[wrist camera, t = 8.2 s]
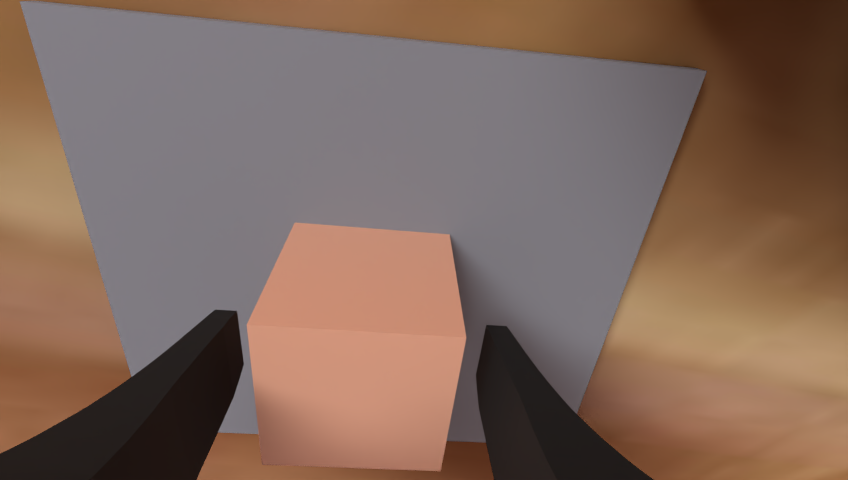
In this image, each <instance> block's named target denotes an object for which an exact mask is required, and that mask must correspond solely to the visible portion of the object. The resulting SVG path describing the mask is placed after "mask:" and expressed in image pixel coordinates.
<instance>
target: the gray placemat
mask: <svg viewBox="0 0 848 480" xmlns="http://www.w3.org/2000/svg"><path fill="white" fill-rule="evenodd" d="M20 4H21V7H22V10H23V14H24V17H25V20H26V24H27V27H28V31H29V34H30V37H31V41H32V44H33V47H34V51H35V54H36V57H37V61H38V64H39V67H40V71H41V74H42V78H43V81H44V84H45V88H46V91H47V94H48V98H49V101H50V104H51V108H52V111H53V115H54V118H55V121H56V125H57V128H58V131H59V135H60V138H61V141H62V145H63V148H64V152H65V155H66V158H67V162H68V165H69V168H70V172H71V175H72V178H73V182H74V185H75V188H76V192H77V195H78V199H79V202H80V205H81V209H82V212H83V215H84V219H85V222H86V225H87V229H88V232H89V236H90V239H91V242H92V246H93V249H94V252H95V256H96V259H97V262H98V266H99V269H100V273H101V276H102V279H103V283H104V286H105V289H106V293H107V296H108V299H109V303H110V306H111V309H112V313H113V316H114V320H115V323H116V326H117V330H118V333H119V336H120V340H121V343H122V346H123V350H124V353H125V357H126V360H127V363H128V367H129V370H130V373H131V377H132V376H134V375H135V374H136V373H138V372H139V371H140V370H142V369H143V368H144V367H146V366H147V365H148V364H150V363H151V362H152V361H154V360H155V359H156V358H157V357H159V356H160V355H161V354H162V353H164V352H165V351H166V350H167V349H168V348H170V347H171V346H172V345H173V344H175V343H176V342H177V341H178V340H179V339H181V338H182V337H183V336H184V335H185V334H187V333H188V332H189V331H190V330H191V329H192V328H194V327H195V326H196V325H197V324H198V323H200V322H201V321H202V320H203V319H204V318H205V317H207V316H208V315H209V314H210V313H212V312H213V311H214V310H232V311H237V314H238V322H239V330H240V337H241V345H242V353H243V360H244V366H243V369H242V372H241V376H240V379H239V382H238V385H237V389H236V392H235V395H234V398H233V400H232V402H231V404H230V407H229V409H228V411H227V413H226V416H225V418H224V420H223V422H222V424H221V427H220V429H219V431H218V432H221V433H248V434H259V432H258V423H257V414H256V405H255V396H254V387H253V378H252V369H251V359H250V350H249V341H248V332H247V323H248V321H249V319H250V316H251V314H252V312H253V310H254V308H255V306H256V304H257V302H258V299H259V297H260V295H261V293H262V291H263V289H264V287H265V285H266V282H267V280H268V278H269V276H270V274H271V272H272V270H273V268H274V265H275V263H276V261H277V259H278V257H279V255H280V253H281V251H282V248H283V246H284V244H285V242H286V240H287V238H288V236H289V234H290V231H291V229H292V227H293V225H294V223H308V224H321V225H334V226H347V227H360V228H373V229H386V230H399V231H412V232H425V233H438V234H450V240H451V246H452V252H453V258H454V264H455V271H456V277H457V283H458V289H459V295H460V301H461V307H462V314H463V320H464V326H465V332H466V343H465V348H464V353H463V358H462V363H461V368H460V373H459V379H458V384H457V389H456V394H455V399H454V404H453V409H452V415H451V420H450V425H449V430H448V435H447V440H446V441H461V442H486V439H485V435H484V430H483V426H482V421H481V416H480V411H479V405H478V395H477V384H476V372H477V367H478V362H479V357H480V353H481V348H482V343H483V338H484V334H485V329H486V325H497V326H507V327H508V328H509V330H510V331H511V332H512V334H513V335H514V337H515V338H516V340H517V341H518V342H519V344H520V345H521V347H522V348H523V349H524V351H525V352H526V354H527V355H528V356H529V358H530V359H531V360H532V362H533V363H534V364H535V366H536V367H537V368H538V370H539V371H540V372H541V373H542V375H543V376H544V377H545V378H546V380H547V381H548V382H549V383H550V385H551V386H552V387H553V388H554V389H555V391H556V392H557V393H558V394H559V395H560V396H561V398H562V399H563V400H564V401H565V402H566V403H567V404H568V405H569V407H570V408H571V409H572V410H573V411H574V412H575V413H576V414H577V412H578V409H579V407H580V404H581V402H582V399H583V396H584V394H585V391H586V388H587V386H588V383H589V380H590V378H591V375H592V373H593V370H594V367H595V365H596V362H597V359H598V357H599V354H600V351H601V349H602V346H603V344H604V341H605V338H606V336H607V333H608V330H609V328H610V325H611V322H612V320H613V317H614V315H615V312H616V309H617V307H618V304H619V301H620V299H621V296H622V294H623V291H624V288H625V286H626V283H627V280H628V278H629V275H630V272H631V270H632V267H633V265H634V262H635V259H636V257H637V254H638V251H639V249H640V246H641V243H642V241H643V238H644V236H645V233H646V230H647V228H648V225H649V222H650V220H651V217H652V214H653V212H654V209H655V207H656V204H657V201H658V199H659V196H660V193H661V191H662V188H663V185H664V183H665V180H666V178H667V175H668V172H669V170H670V167H671V164H672V162H673V159H674V156H675V154H676V151H677V149H678V146H679V143H680V141H681V138H682V135H683V133H684V130H685V128H686V125H687V122H688V120H689V117H690V114H691V112H692V109H693V106H694V104H695V101H696V99H697V96H698V93H699V91H700V88H701V85H702V83H703V80H704V77H705V75H706V72H707V71H704V70H701V69H698V68H690V67H680V66H670V65H660V64H650V63H641V62H631V61H621V60H611V59H601V58H592V57H582V56H572V55H562V54H552V53H542V52H533V51H523V50H513V49H503V48H493V47H484V46H474V45H464V44H454V43H444V42H434V41H425V40H415V39H405V38H395V37H385V36H376V35H366V34H356V33H346V32H336V31H326V30H317V29H307V28H297V27H287V26H277V25H268V24H258V23H248V22H238V21H228V20H218V19H209V18H199V17H189V16H179V15H169V14H160V13H150V12H140V11H130V10H120V9H110V8H101V7H91V6H81V5H71V4H61V3H52V2H42V1H20Z"/></svg>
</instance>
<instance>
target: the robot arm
mask: <svg viewBox="0 0 848 480" xmlns="http://www.w3.org/2000/svg"><path fill="white" fill-rule="evenodd" d="M243 366H244V360H243V353H242V345H241V337H240V330H239V322H238V314H237V311H232V310H214V311H213V312H212V313H210V314H209V315H208V316H207V317H205V318H204V319H203V320H202V321H201V322H200V323H198V324H197V325H196V326H195V327H194V328H192V329H191V330H190V331H189V332H188V333H187V334H185V335H184V336H183V337H182V338H181V339H179V340H178V341H177V342H176V343H175V344H173V345H172V346H171V347H170V348H168V349H167V350H166V351H165V352H164V353H162V354H161V355H160V356H159V357H157V358H156V359H155V360H154V361H152V362H151V363H150V364H148V365H147V366H146V367H144V368H143V369H142V370H140V371H139V372H138V373H136V374H135V375H134V376H132V377H131V378H130V379H128V380H127V381H126V382H124V383H123V384H121V385H120V386H118V387H117V388H115V389H114V390H112V391H111V392H109V393H108V394H106V395H105V396H103V397H102V398H100V399H99V400H97V401H95V402H94V403H92V404H91V405H89V406H88V407H86V408H84V409H83V410H81V411H79V412H78V413H76V414H74V415H72V416H71V417H69V418H67V419H65V420H63V421H62V422H60V423H58V424H56V425H55V426H53V427H51V428H49V429H48V430H46V431H44V432H42V433H40V434H39V435H37V436H35V437H33V438H31V439H29V440H27V441H25V442H23V443H21V444H19V445H17V446H15V447H13V448H11V449H9V450H7V451H5V452H3V453H1V454H0V480H197V477H198V475H199V472H200V470H201V468H202V466H203V464H204V461H205V459H206V457H207V455H208V453H209V451H210V448H211V446H212V444H213V442H214V440H215V437H216V435H217V433H218V431H219V429H220V427H221V424H222V422H223V420H224V418H225V416H226V413H227V411H228V409H229V407H230V404H231V402H232V400H233V398H234V395H235V392H236V389H237V385H238V382H239V379H240V376H241V372H242V369H243ZM476 384H477V395H478V405H479V411H480V416H481V421H482V426H483V430H484V435H485V439H486V444H487V449H488V453H489V458H490V462H491V467H492V472H493V476H494V480H653V479H652V478H651V477H649V476H648V475H646V474H645V473H644V472H642V471H641V470H640V469H638V468H637V467H636V466H635V465H633V464H632V463H631V462H629V461H628V460H627V459H626V458H624V457H623V456H622V455H621V454H620V453H619V452H617V451H616V450H615V449H614V448H613V447H611V446H610V445H609V444H608V443H607V442H606V441H604V440H603V439H602V438H601V437H600V436H599V435H598V434H597V433H596V432H594V431H593V430H592V429H591V428H590V427H589V426H588V425H587V424H586V423H585V422H584V421H583V420H582V419H581V418H580V417H579V416H578V415H577V414H576V413H575V412H574V411H573V410H572V409H571V408H570V407H569V405H568V404H567V403H566V402H565V401H564V400H563V399H562V398H561V396H560V395H559V394H558V393H557V392H556V391H555V389H554V388H553V387H552V386H551V385H550V383H549V382H548V381H547V380H546V378H545V377H544V376H543V375H542V373H541V372H540V371H539V370H538V368H537V367H536V366H535V364H534V363H533V362H532V360H531V359H530V358H529V356H528V355H527V354H526V352H525V351H524V349H523V348H522V347H521V345H520V344H519V342H518V341H517V340H516V338H515V337H514V335H513V334H512V332H511V331H510V330H509V328H508V327H507V326H497V325H486V329H485V334H484V338H483V343H482V348H481V353H480V357H479V362H478V367H477V372H476Z"/></svg>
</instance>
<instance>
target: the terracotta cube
mask: <svg viewBox="0 0 848 480" xmlns="http://www.w3.org/2000/svg"><path fill="white" fill-rule="evenodd" d="M247 332H248V341H249V350H250V359H251V369H252V378H253V387H254V396H255V405H256V414H257V423H258V432H259V441H260V450H261V460H262V465H288V466H315V467H342V468H369V469H397V470H424V471H441V466H442V461H443V456H444V451H445V446H446V440H447V435H448V430H449V425H450V420H451V415H452V409H453V404H454V399H455V394H456V389H457V384H458V379H459V373H460V368H461V363H462V358H463V353H464V348H465V343H466V332H465V326H464V320H463V314H462V307H461V301H460V295H459V289H458V283H457V277H456V271H455V264H454V258H453V252H452V246H451V240H450V234H438V233H425V232H412V231H399V230H386V229H373V228H360V227H347V226H334V225H321V224H308V223H294V225H293V227H292V229H291V231H290V234H289V236H288V238H287V240H286V242H285V244H284V246H283V248H282V251H281V253H280V255H279V257H278V259H277V261H276V263H275V265H274V268H273V270H272V272H271V274H270V276H269V278H268V280H267V282H266V285H265V287H264V289H263V291H262V293H261V295H260V297H259V299H258V302H257V304H256V306H255V308H254V310H253V312H252V314H251V316H250V319H249V321H248V323H247Z"/></svg>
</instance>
